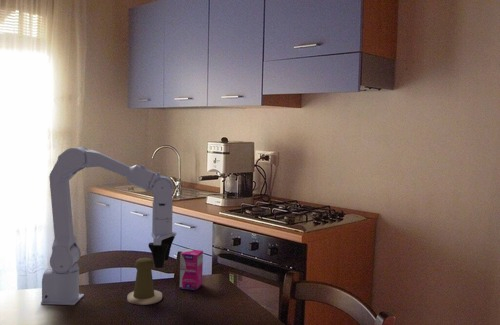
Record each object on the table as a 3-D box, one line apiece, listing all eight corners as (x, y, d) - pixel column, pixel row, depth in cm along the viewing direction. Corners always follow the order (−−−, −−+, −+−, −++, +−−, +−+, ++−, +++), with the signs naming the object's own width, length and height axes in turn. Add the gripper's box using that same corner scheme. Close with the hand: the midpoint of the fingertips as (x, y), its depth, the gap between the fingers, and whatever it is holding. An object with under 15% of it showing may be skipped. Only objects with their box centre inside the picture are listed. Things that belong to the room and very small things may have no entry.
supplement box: (178, 289, 147) (179, 253, 146) (185, 283, 153) (186, 248, 152) (196, 291, 146) (197, 254, 145) (202, 285, 151) (203, 250, 151)
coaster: (123, 304, 133) (123, 300, 133) (132, 292, 143) (132, 288, 143) (158, 305, 133) (158, 301, 133) (165, 293, 143) (165, 289, 143)
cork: (150, 299, 134) (151, 261, 133) (130, 298, 135) (130, 260, 134) (157, 292, 140) (157, 256, 139) (137, 291, 141) (137, 255, 140)
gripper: (171, 223, 129) (171, 271, 130) (180, 213, 143) (179, 257, 144) (146, 222, 129) (145, 270, 130) (157, 213, 143) (156, 256, 144)
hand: (161, 263), depth 137 cm, fingers open, 7 cm apart
